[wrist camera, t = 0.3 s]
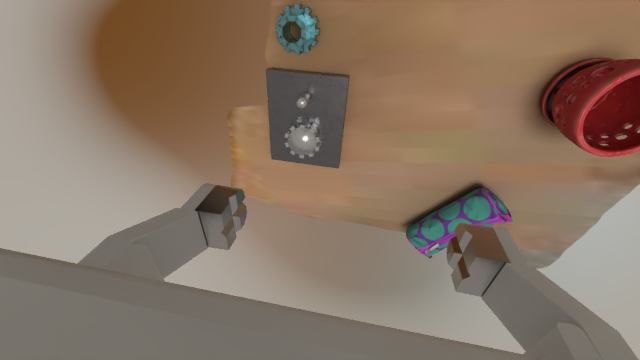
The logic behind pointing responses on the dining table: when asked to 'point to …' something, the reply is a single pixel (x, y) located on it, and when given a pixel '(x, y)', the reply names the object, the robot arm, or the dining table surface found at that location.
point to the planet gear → (304, 22)
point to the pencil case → (456, 220)
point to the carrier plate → (306, 115)
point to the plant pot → (597, 105)
